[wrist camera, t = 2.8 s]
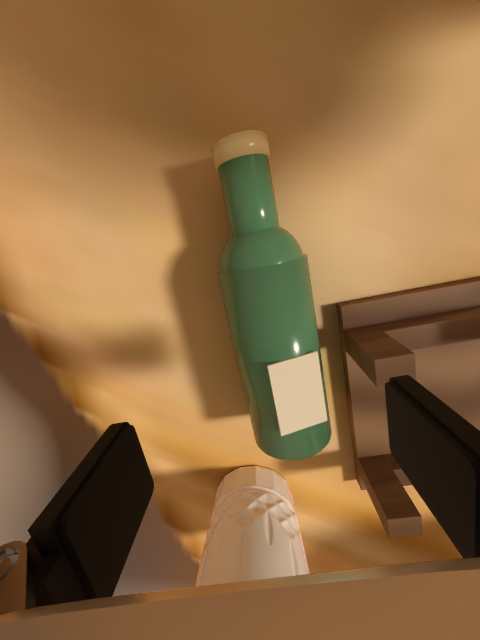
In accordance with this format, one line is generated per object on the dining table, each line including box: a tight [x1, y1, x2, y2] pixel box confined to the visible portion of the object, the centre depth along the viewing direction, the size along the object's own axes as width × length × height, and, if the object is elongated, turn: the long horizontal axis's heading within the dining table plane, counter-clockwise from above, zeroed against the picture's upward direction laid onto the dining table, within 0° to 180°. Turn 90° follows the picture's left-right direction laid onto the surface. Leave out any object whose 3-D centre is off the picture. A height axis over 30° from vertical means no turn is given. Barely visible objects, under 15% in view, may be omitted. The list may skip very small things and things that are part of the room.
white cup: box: [196, 466, 310, 587], centre depth 20 cm, size 8×8×10 cm
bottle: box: [211, 130, 331, 460], centre depth 17 cm, size 18×5×6 cm, turn 12°
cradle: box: [337, 277, 480, 538], centre depth 18 cm, size 16×11×6 cm
